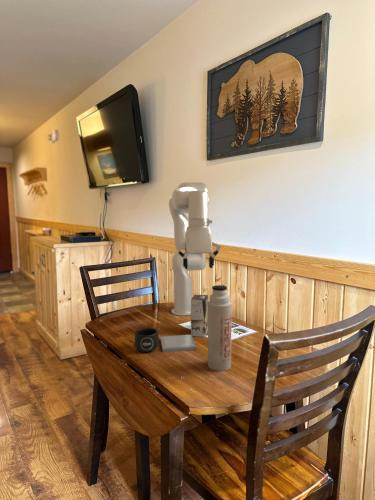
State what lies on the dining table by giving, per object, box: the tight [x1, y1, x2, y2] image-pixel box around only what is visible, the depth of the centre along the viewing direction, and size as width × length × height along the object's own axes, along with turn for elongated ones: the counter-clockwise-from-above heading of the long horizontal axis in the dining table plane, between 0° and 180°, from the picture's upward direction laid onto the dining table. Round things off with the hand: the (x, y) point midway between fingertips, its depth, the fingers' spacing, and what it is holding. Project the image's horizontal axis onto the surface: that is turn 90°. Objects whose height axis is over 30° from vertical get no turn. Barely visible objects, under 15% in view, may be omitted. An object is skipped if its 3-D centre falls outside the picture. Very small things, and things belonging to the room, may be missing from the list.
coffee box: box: [190, 294, 209, 338], centre depth 149 cm, size 9×6×16 cm
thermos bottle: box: [207, 284, 232, 372], centre depth 117 cm, size 8×8×28 cm
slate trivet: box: [159, 334, 197, 353], centre depth 138 cm, size 13×13×1 cm
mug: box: [134, 327, 159, 353], centre depth 134 cm, size 12×9×7 cm
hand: (198, 268), depth 132 cm, fingers open, 9 cm apart
